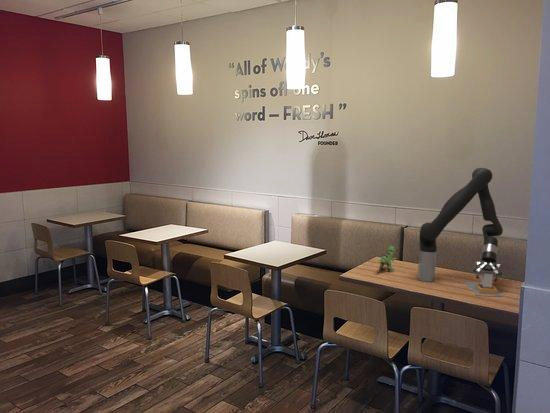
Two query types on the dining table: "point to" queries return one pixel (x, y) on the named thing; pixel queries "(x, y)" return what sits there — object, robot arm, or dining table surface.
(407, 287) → the dining table surface
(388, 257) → the toy
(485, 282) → the brushed metal pillar
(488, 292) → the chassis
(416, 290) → the dining table surface
